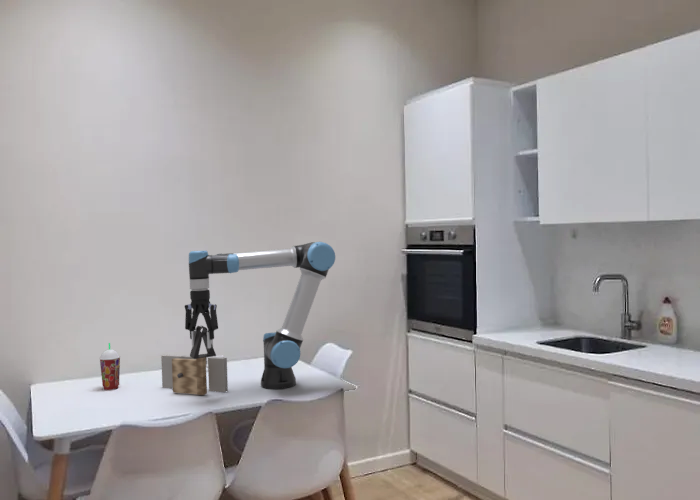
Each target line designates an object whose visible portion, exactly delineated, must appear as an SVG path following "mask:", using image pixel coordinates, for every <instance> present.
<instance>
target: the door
mask: <svg viewBox="0 0 700 500" xmlns="http://www.w3.org/2000/svg"><path fill="white" fill-rule="evenodd" d="M172 379H173V388H172V393H176V394H189V395H197V396H198V395H199V396H200V395H201V396H205V395H208V384H207V383H208V382H207V381H208V379H207V367H206V357H205V358H198V359H196V360H195V359H175V358H174V359H172Z"/></svg>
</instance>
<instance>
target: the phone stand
mask: <svg viewBox="0 0 700 500" xmlns="http://www.w3.org/2000/svg"><path fill="white" fill-rule="evenodd" d="M195 329H196V330H195V331H196V337H195V342H194V346H193V348H192V347H191V351H190V353H189V356H190V357H192V358H194V359H198V358H205V357H207V358H208V357H213V356H216V355H217V354H216V351H215V349H214V345H213V346H212V344H211V348H207V332H208V328H207V326H206V327H205V326H204V325H196V328H195ZM202 341H203V343H204V346H205V351H206V353H202V354H200V350H201V344H202Z"/></svg>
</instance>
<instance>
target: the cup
mask: <svg viewBox="0 0 700 500" xmlns="http://www.w3.org/2000/svg"><path fill="white" fill-rule="evenodd" d="M213 357H218V358H225V355H223V354H216V356H213ZM208 358H210V357H207V362H208ZM206 369H208V363H207V364H206Z"/></svg>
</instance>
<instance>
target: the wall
mask: <svg viewBox="0 0 700 500" xmlns="http://www.w3.org/2000/svg"><path fill="white" fill-rule="evenodd" d="M160 356H161V357H160V358H161V383H162V385H161V386H162V388H163V389H173V379H172V359H174V358H175V359H194V358H192V357H190V355H177V354H176V355H175V354H174V355H170V354H169V355H168V354H162V355H160ZM207 359H208V361H207ZM195 360H196V359H195ZM206 364H207V366H208V368H207V371H208V373H207V374H208V391H209V392H215V391H216V393H217V392H218V393H226V391H227V392H229V388H228V387H229V385H228V384H229V383H228V358H227V357H224V358H218V357H210V358H208V357H206Z"/></svg>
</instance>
